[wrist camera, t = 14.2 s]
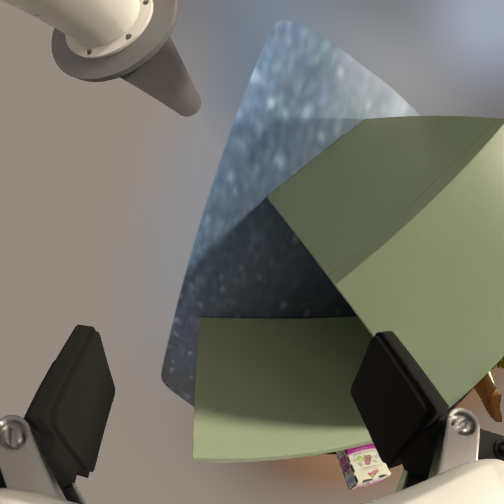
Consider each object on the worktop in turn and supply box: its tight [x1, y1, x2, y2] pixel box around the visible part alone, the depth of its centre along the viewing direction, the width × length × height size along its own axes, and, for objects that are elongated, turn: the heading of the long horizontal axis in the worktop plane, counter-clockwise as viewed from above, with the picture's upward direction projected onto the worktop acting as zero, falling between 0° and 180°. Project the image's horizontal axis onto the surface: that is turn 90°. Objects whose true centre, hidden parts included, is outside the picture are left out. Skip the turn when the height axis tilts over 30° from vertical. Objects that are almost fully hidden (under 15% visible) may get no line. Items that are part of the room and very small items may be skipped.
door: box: [192, 316, 373, 462], centre depth 35 cm, size 8×26×24 cm, turn 85°
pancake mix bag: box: [474, 371, 502, 422], centre depth 36 cm, size 7×19×28 cm, turn 36°
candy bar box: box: [336, 443, 391, 490], centre depth 56 cm, size 11×5×16 cm, turn 78°
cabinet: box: [267, 116, 504, 408], centre depth 29 cm, size 18×26×24 cm
